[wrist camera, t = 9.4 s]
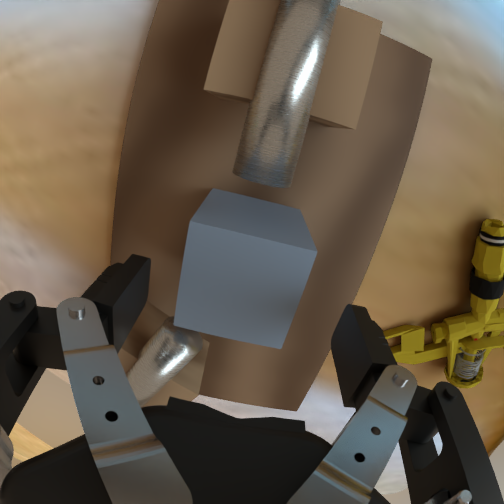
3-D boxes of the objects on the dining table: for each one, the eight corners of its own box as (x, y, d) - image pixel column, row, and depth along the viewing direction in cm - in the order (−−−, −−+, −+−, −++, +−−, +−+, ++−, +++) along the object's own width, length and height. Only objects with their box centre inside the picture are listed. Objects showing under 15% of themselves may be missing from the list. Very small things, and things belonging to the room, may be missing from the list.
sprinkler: (577, 227, 14) (532, 376, 19) (550, 211, 17) (517, 352, 23) (353, 245, 18) (348, 413, 23) (345, 223, 21) (346, 380, 27)
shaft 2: (336, 0, 10) (349, -19, 8) (287, 180, 14) (292, 192, 12) (284, -14, 10) (288, -37, 8) (234, 167, 14) (229, 176, 11)
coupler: (300, 209, 18) (317, 251, 12) (276, 285, 20) (281, 349, 14) (212, 188, 17) (190, 221, 12) (196, 267, 19) (173, 325, 14)
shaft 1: (205, 332, 17) (198, 361, 15) (138, 401, 20) (129, 426, 18) (169, 308, 17) (157, 335, 14) (110, 384, 20) (99, 408, 17)
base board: (424, 61, 14) (480, 47, 9) (295, 402, 25) (300, 458, 20) (168, -8, 13) (133, -50, 8) (115, 362, 24) (90, 413, 19)
